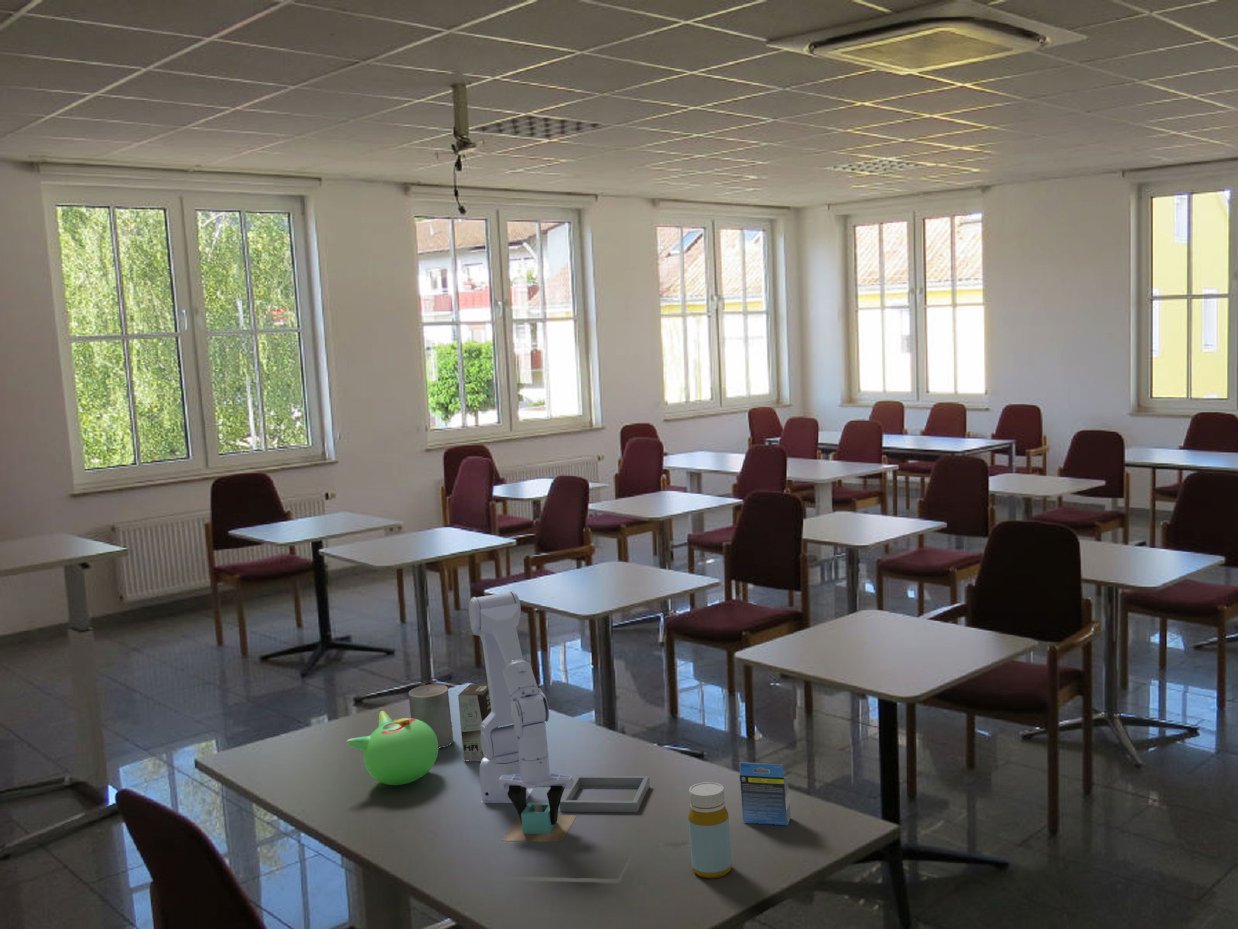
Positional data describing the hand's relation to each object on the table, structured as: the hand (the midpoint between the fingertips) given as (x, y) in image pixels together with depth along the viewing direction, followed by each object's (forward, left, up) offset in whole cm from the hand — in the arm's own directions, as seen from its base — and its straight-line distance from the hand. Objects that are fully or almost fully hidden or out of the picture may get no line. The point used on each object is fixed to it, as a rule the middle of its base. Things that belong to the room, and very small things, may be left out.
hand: (539, 822), depth 222 cm
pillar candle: (-41, +48, -2) cm, 63 cm away
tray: (+10, +15, -2) cm, 18 cm away
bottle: (+36, -15, -2) cm, 39 cm away
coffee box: (-26, +41, -2) cm, 49 cm away
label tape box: (+44, +6, -2) cm, 44 cm away
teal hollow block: (0, 0, -1) cm, 1 cm away
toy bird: (-40, +25, -2) cm, 47 cm away
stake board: (0, 0, -2) cm, 2 cm away
